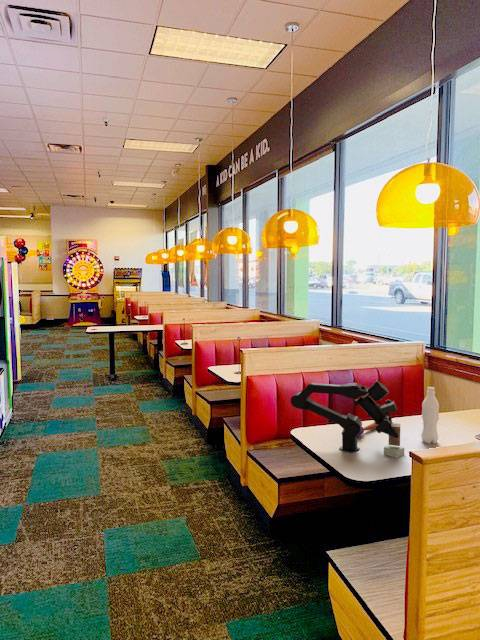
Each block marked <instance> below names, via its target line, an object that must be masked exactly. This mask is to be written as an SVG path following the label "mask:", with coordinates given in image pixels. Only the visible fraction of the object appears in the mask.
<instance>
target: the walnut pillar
mask: <svg viewBox="0 0 480 640" xmlns="http://www.w3.org/2000/svg"><path fill="white" fill-rule="evenodd" d="M391 426H392V427H393V429H394V430H395V432H396V433H397V434H398V436H399V437H398V438H395V437H393V436H390V435H388V445H395V446H401V423H396V422H395V423H394V422H393V423H391Z"/></svg>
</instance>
